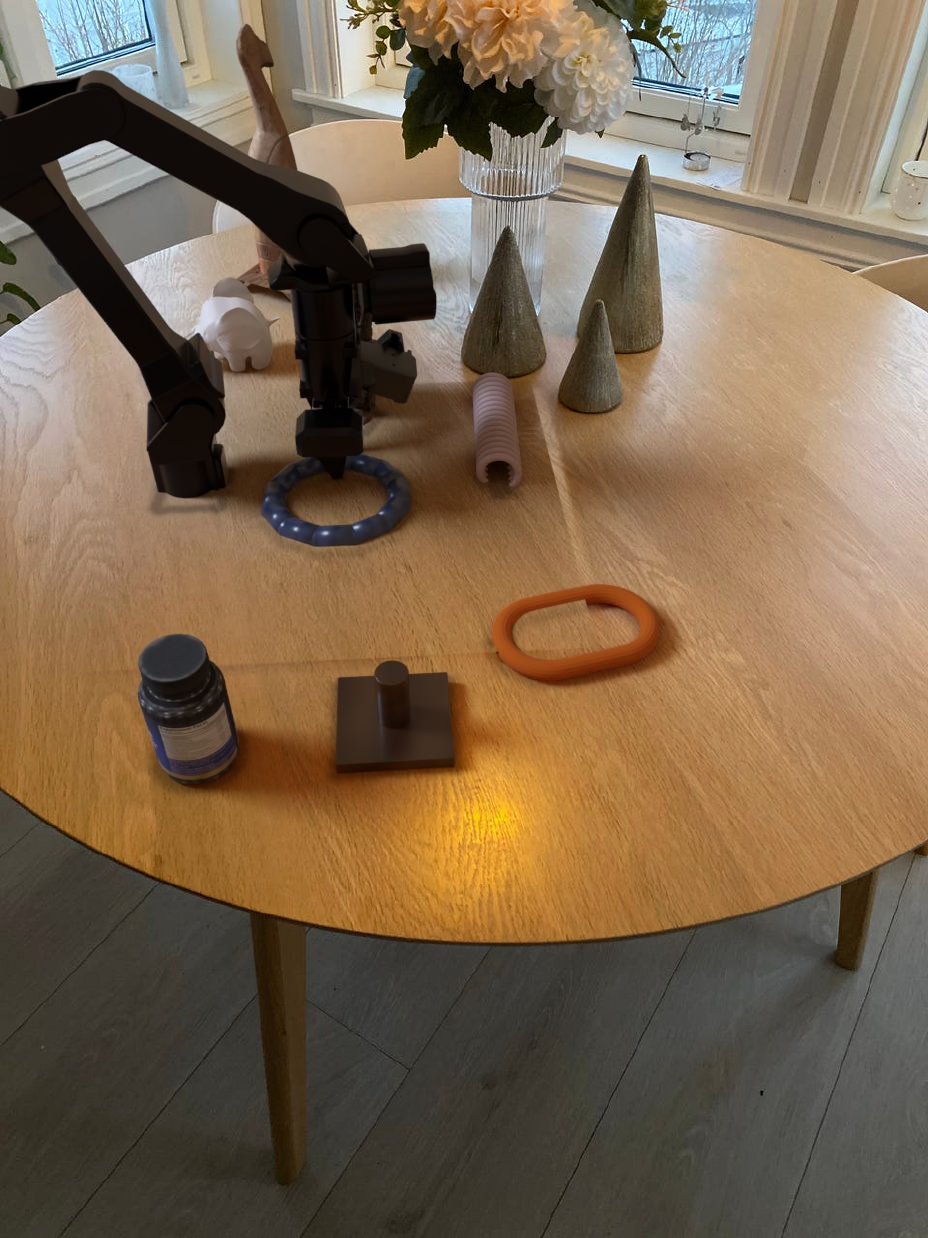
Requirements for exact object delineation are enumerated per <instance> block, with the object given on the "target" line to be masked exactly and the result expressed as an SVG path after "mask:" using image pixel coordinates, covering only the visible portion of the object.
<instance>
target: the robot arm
mask: <svg viewBox="0 0 928 1238" xmlns="http://www.w3.org/2000/svg"><path fill="white" fill-rule="evenodd" d="M104 141H105V142H107V143H110V144H112V145H114V146H116V147H117V148H119V149H121V150H122V151H125V152H127V153H129V154H130V155H133V156H135V157H136V158H138V159H140V160H142V161H143V162H145V163H148V164H149V165H150V166H152V167H155V168H157V169H159V170H160V171H162V172H164V173H166V174H168V175H170V176H171V177H173V178H176V179H177V180H179V181H181V182H183V183H185V184H187V185H188V186H190V187H192V188H194V189H196V190H198V191H199V192H202V193H204V194H206V195H207V196H209V197H211V198H213V199H214V200H216V201H218V202H221V203H222V204H224V205H226V206H228V207H230V208H231V209H233V210H235V211H237V212H238V213H240V214H241V215H242V216H243V217H245V218H247V220H249V221H250V222H251V223H252V222H253V223H254V224H255V225H256V226H257V227H258V228H259V229H260V230H261V231H262V232H263V233H264V234H265V235H266V236H267V237H268V238H269V239H270V240H271V241H272V242H273V243H275V244H276V245H277V246H279V247H280V248H281V249H283V250H284V251H285V252H286V253H288V254H289V255H290V256H292V257H293V258H294V259H296V260H297V261H296V260H293V259H291V258H289V257H288V256H287V255H286V254H285V253H281V254H280V256H279V258H278V260H277V261H276V262H275V263H274V264H273V265H272V266H271V267H269V268H268V269H267V276H268V279H267V280H268V282H269V287H270V288H269V289H270V291H273V292H281V290H290V295H291V300H290V302H291V310H292V320H293V328H294V336H295V339H294V340H295V341H294V349H293V350H294V358H295V360H297V361H298V370H299V371H298V372H299V386H298V387H299V388H298V391H299V399H306V401H307V403H308V405H309V407H310V408H309V409H305V410H303V411H302V412H301V413H300V414H299V415H298V416H297V417H296V422H295V431H294V432H295V433H294V441H295V449H296V455H297V456H299V457H301V458H302V459H304V458H307V457H317V459H318V460H319V461H320V463H321V464H322V466H323V467H324V468H325V470H326V471H325V472H326V473H327V474H328V475H329V477H330V479H331V480H343V479H344V476H345V471H344V470H345V464H346V457H347V456H358V455H360V454H364V425H363V420H362V416H361V415H360V414H359V413H358V412H356V411H355V410H354V409H353V408H349V407H350V405H351V404H352V403H353V402H354V401H355V400H356V399H363V389H364V390H365V391H366V392H368V393H371V394H374V395H376V396H378V397H380V398H385V399H388V400H391V401H393V402H394V403H396V404H400V405H404V404H407V403H408V401H409V398H410V396H411V393H412V391H413V388H414V385H415V382H416V380H417V377H418V367H417V358H416V356H414V355H413V352H412V349H411V350H410V349H407V351H406V350H405V344H404V342H405V341H404V338H403V337H404V336H403V333H402V332H401V331H397V330H394V329H391V328H388V329H387V330H386V331H385V332H384V333H382V334H381V335H380V336H379V337H378V338H377V339H374V338H372V339H373V341H372V343H369V342H364V341H361V340H360V329H359V328H358V329H357V327H356V324H355V313H354V299H353V285H352V284H357V283H358V294H359V301H360V307H361V312H362V314H363V315H367V314H369V313H370V317H371V322H372V323H373V324H375V325H376V326H377V325H388V324H398V323H399V324H400V323H409V322H420V321H430V320H431V321H432V320H435V318H436V315H437V303H438V302H437V299H438V298H437V291H436V289H435V285H434V277H433V271H432V266H431V254H430V253H431V252H430V251H429V249H428V246H427V244H426V243H424V242H422V243H419V242H418V243H412V244H409V245H408V244H407V245H405V246H399V247H398V246H397V247H386V248H384V247H383V248H373V249H372V248H371V249H368V247H367V244H366V241H365V238H364V237H363V235H362V234H361V233H359V231H358V230H357V228H355V227H354V226H353V225H352V223H351V222H350V220H349V216H348V214H347V211H346V208H345V205H344V202H343V200H342V198H341V196H340V193H339V192H338V191H337V189H336V188H335V187H334V186H333V185H332V184H330V182H328V181H326V180H324V179H323V178H319V177H316V176H314V175H311V174H308V173H306V172H303V171H301V170H298V169H297V170H295V169H292V168H288V167H283V166H277V165H271V164H267V163H264V162H262V161H259V160H256V159H254V158H252V157H250V156H248V153H245V152H243V151H242V150H240V149H238V148H236V147H235V146H232V144H229V143H227V142H225V141H224V140H223V139H220V138H218V137H217V136H215V135H213V134H211V133H210V132H208V131H207V130H205V129H203V128H201V127H199V126H197V125H196V124H194V123H192V122H190V121H189V120H187V119H185V118H183V117H181V116H180V115H178V114H176V113H175V112H173V111H171V110H170V109H168V108H166V107H164V106H162V105H161V104H159V103H158V102H156V101H154V100H153V99H151V98H148V97H147V96H145V95H143V94H141V93H139V92H138V91H136V90H135V89H133V88H131V87H129V86H128V85H126V84H125V83H124V82H122V81H121V80H120V78H119V77H117V76H116V75H114V73H110V72H108V71H105V70H101V69H99V70H97V69H92V70H90V71H88V72H85V73H84V74H80V75H77V76H73V77H68V78H60V79H52V80H51V79H50V80H44V81H37V82H33V83H30V84H26V85H22V86H19V87H15V88H10V87H6V86H3V85H0V208H1V209H2V210H4V211H6V212H7V213H9V214H10V215H12V216H14V217H15V218H16V219H18V220H19V221H21V222H23V223H24V224H26V226H28V228H30V229H31V230H32V231H33V233H34V234H35V235H36V236H37V238H38V239H39V240H40V241H41V243H42V244H43V245H44V247H45V248H46V249H47V250H48V251H49V253H50V255H52V257H53V258H54V259H55V260H56V262H57V263H58V264H59V266H60V267H61V269H62V270H63V271H64V272H65V273H66V275H67V276H68V277H69V278H70V280H71V281H72V283H74V285H75V286H76V288H77V289H78V290H79V291H80V292H81V294H82V296H84V298H85V299H86V300H87V302H88V303H89V304H90V305H91V306H92V308H93V309H94V310H95V312H96V313H97V314H98V316H99V317H100V318H101V319H102V320H103V322H104V323H105V325H106V326H107V327H108V328H109V329H110V331H111V332H112V333H113V335H114V336H115V337H116V338H117V339H118V341H119V342H120V344H121V345H122V346H123V347H124V349H125V350H126V351H127V352H128V354H129V355H130V357H131V358H132V359H133V361H135V363H136V365H137V367H138V369H139V371H140V374H141V376H142V378H143V381H144V383H145V387H146V389H147V391H148V395H149V396H150V399H149V401H147V412H146V453H147V454H148V458H149V462H150V466H151V471H152V474H153V478H154V483H155V486H156V490H157V492H158V493H166V494H167V495H168V496H171V497H174V498H178V499H193V498H199V497H201V496H204V495H206V494H209V493H210V492H214V491H219V490H221V489H226V488H227V486H228V479H229V475H230V474H229V468H228V463H227V462H228V461H227V458H226V457H227V456H226V452H225V445H224V444H222V443H218V440H217V434H218V433H219V432H220V431H221V429H222V428H223V427H224V425H225V423H226V419H227V411H226V401H225V397H226V392H225V379H224V369H223V362H222V360H219V359H218V358H217V357H216V356H215V357H214V356H213V355H212V354H211V353H210V351H209V350H208V348H207V346H206V344H205V342H204V340H203V338H202V336H201V334H200V333H196V334H195V335H194V334H193V335H192V336H190V337H189V338H187V339H185V338H184V337H185V336H184V337H183V336H182V335H180V334H179V333H177V331H175V330H173V329H172V328H171V327H170V325H169V324H168V323H167V322H166V320H165V319H164V318H163V316H162V314H161V313H160V312H159V311H158V309H157V308H156V306H155V305H154V304H153V302H152V301H151V300H150V298H149V297H148V296H147V294H146V293H145V291H144V290H143V289H142V287H141V286H140V284H139V283H138V282H137V280H136V279H135V278H134V276H133V275H132V273H131V272H130V271H129V270H128V268H127V267H126V265H125V263H124V262H123V261H122V260H121V258H120V257H119V256H118V255H117V252H116V251H115V250H114V248H113V247H112V246H111V245H110V243H109V242H108V241H107V239H106V238H105V236H104V235H103V234H102V232H101V231H100V230H99V228H98V227H97V225H96V224H95V222H94V221H93V220H92V219H91V217H90V215H88V213H87V212H86V210H85V209H84V207H83V206H82V205H81V203H80V202H79V201H78V199H77V198H76V197H75V196H74V194H73V192H72V190H71V189H70V186H69V184H68V182H67V179H66V177H65V173H64V171H63V169H62V166H61V163H60V162H59V160H60V159H61V158H63V157H65V156H68V155H70V154H72V153H74V152H77V151H79V150H80V149H83V148H85V147H88V146H90V145H94V144H97V143H100V142H104Z"/></svg>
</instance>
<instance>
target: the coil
mask: <svg viewBox="0 0 928 1238" xmlns="http://www.w3.org/2000/svg"><path fill="white" fill-rule="evenodd" d="M471 392H472V394H471V395H472V396H471V397H472V409H473V410H472V412H473V414H472V415H473V432H474V453H475V469H476V472H475V473H476V477H477V479H478V481H479V482H480V483H487V482H489V481H490V480H489V478H488V476H489V473H488V472H487V471H488V470H489V467H487V466H488V465H489V464H491V463H493V462H496V461H497V462H498V461H500V462H501V461H502V462H505V463H507V464H509V465H507V467H506V468H507V469H508V470H509V471H508V472H507V475H510V476H509V477H508V478H507V479H508V481H510V482H509V483H508V486H509V487H514V488H515V487H518V486H519V485H520V483H521V481H522V477H523V468H522V459H521V452H520V451H521V450H520V441H519V432H518V425H517V424H518V422H517V414H516V406H515V405H516V404H515V397H514V387H513V384H512V382H511V381H510V380H509V378H508V377H506V376H505V375H504V374H502V373H499V372H494V371H493V372H487V373H483V374H481V375H479V376H478V377H476V379H475V380H474V383H473V384H472V389H471Z"/></svg>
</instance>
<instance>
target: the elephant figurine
mask: <svg viewBox="0 0 928 1238" xmlns="http://www.w3.org/2000/svg"><path fill="white" fill-rule="evenodd" d="M280 320H281V317H280V316H278V317H273V318H269V319H267V318H266V317H265V315H264V313H263V312H262V311H261V309H259V308H258V307H257V305H255V299H254V297H253V295H252V293H251V292H250V290H249V289H248V287H247V286H246V285H245V283H244V284H243V283H241V282H240V281H239V280H237V279H236V278H235V277H232V276H227V277H224V278H222V279H220V280H219V281H217V282H216V283H215V285H214V286H213V287H212V291H211V295H210V297H209V298H208V299H206V300H205V302H204V303H203V304H202V306H201V310H200V315H199V319H198V322H197V324H195V325H194V326H193V327H192V329H190V331H188V332H187V333H186V335H184V338H185V339H187V340H188V339H189V338H190V337H191V336H192V335H193V336H194V335H195V334H196V333H200V334H201V336H202V338H203V340H204V342H205V344H206V346H207V348H208V350H209V351H210V353H211V354H212V355H213V356H214V357H215V358H216V355H215V353H218V354H220V355H222V356H223V357H224V358H225V359H226V360H227V361H228V364H229V368H230V370H231V371H232V372H235V373H239V372H243V371H245V370H246V367H247V366H246V359H247V358H248V357H250V360H251V361H250V363H251V364H250V365H251V367H252V368H253V369H255V370H259V371H260V370H263V369H266V368H267V367H269V364H270V361H271V359H272V356H273V350H274V349H273V348H274V347H273V346H274V345H273V344H274V343H273V338H272V334H271V333H272V332H271V329H270V327H271V326H272V325H273V324H274V323H276V322H277V321H280Z"/></svg>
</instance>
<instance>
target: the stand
mask: <svg viewBox="0 0 928 1238" xmlns="http://www.w3.org/2000/svg"><path fill="white" fill-rule="evenodd" d="M373 674H374V675H359V676H339V677H337V692H336V693H337V695H336V696H337V698H336V699H337V702H336V736H335V737H336V738H335V740H336V741H335V769H336V774H337V775H341V774H357V773H376V772H377V773H379V772H393V771H394V772H395V771H411V770H412V771H413V770H431V769H447V768H448V769H449V768H451V769H452V768H455V767H456V756H455V755H456V753H455V743H454V742H455V741H454V732H453V721H452V710H451V699H450V698H451V697H450V687H449V677H448V675H449V674H448V671H442V672H421V673H410V672H409V668H408V666H407V665H406V664H405V663H404V662H402V661H399V660H392V659H391V660H385V661H383V662H381V663H379V664H378V665H377V666H376V668H375V669H374V672H373Z"/></svg>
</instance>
